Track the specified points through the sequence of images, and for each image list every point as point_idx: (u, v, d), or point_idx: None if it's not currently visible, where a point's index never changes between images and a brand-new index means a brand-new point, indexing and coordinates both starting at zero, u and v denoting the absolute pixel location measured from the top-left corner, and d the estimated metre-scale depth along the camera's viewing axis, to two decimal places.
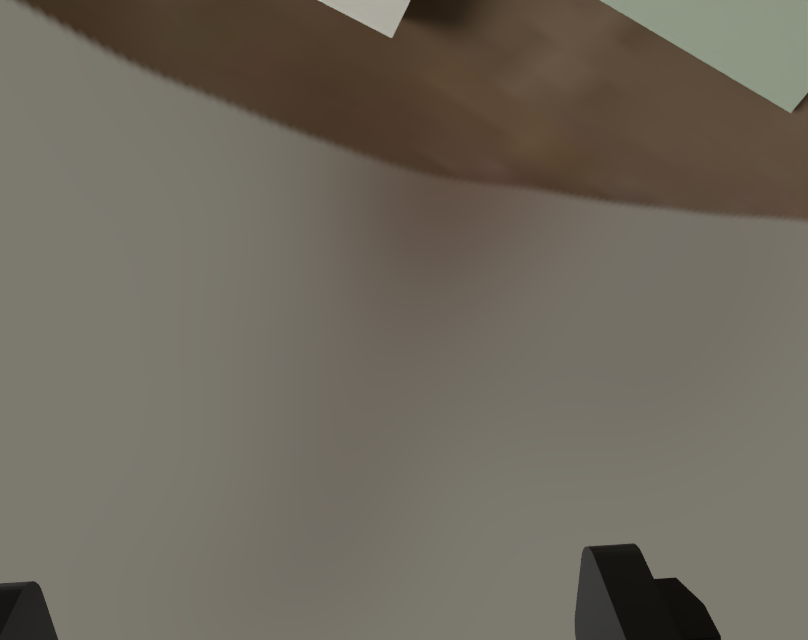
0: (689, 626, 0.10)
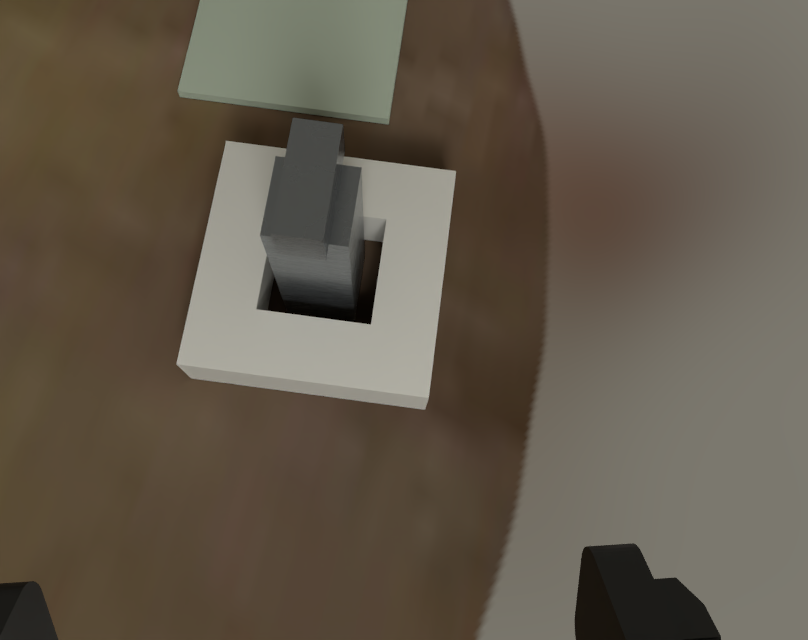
0: (689, 626, 0.10)
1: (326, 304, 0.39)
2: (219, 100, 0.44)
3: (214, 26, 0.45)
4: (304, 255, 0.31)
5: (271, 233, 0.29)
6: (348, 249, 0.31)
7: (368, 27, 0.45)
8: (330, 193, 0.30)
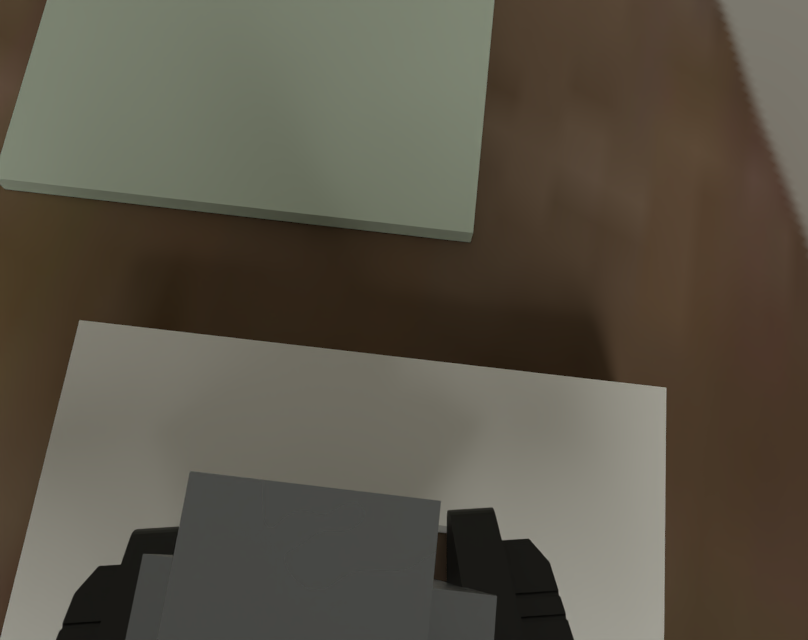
0: (531, 580, 0.11)
1: None
2: (91, 196, 0.20)
3: (84, 30, 0.21)
4: None
5: None
6: None
7: (417, 27, 0.21)
8: None
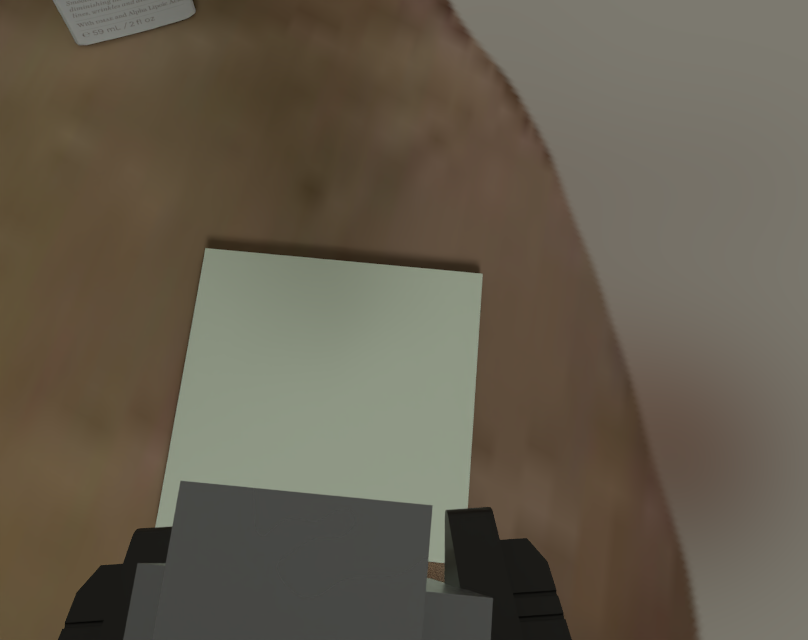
0: (528, 580, 0.11)
1: None
2: None
3: (204, 420, 0.31)
4: None
5: None
6: None
7: (424, 410, 0.32)
8: None
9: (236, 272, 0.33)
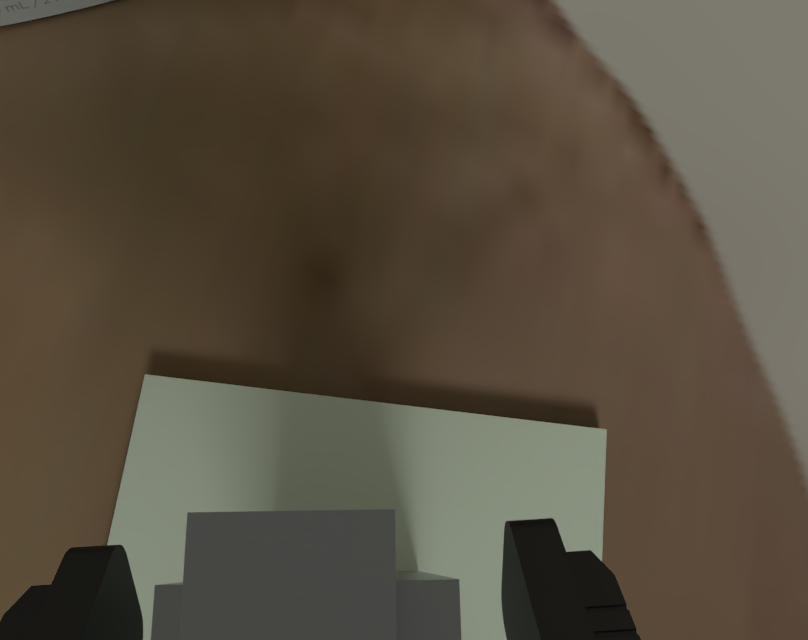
0: (597, 594, 0.11)
1: None
2: None
3: None
4: None
5: None
6: None
7: None
8: None
9: (195, 418, 0.20)
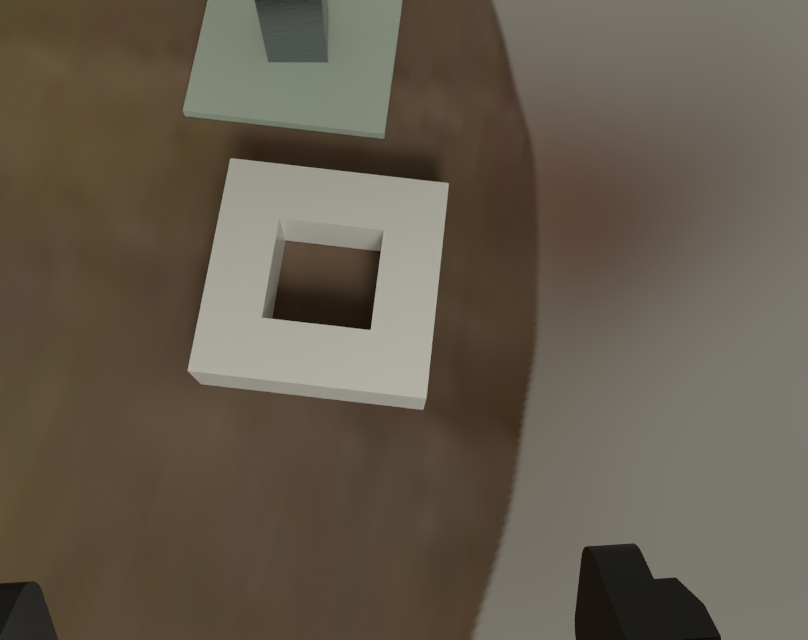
0: (689, 626, 0.10)
1: (301, 40, 0.45)
2: (222, 118, 0.46)
3: (216, 47, 0.47)
4: None
5: None
6: None
7: (363, 46, 0.48)
8: None
9: None
